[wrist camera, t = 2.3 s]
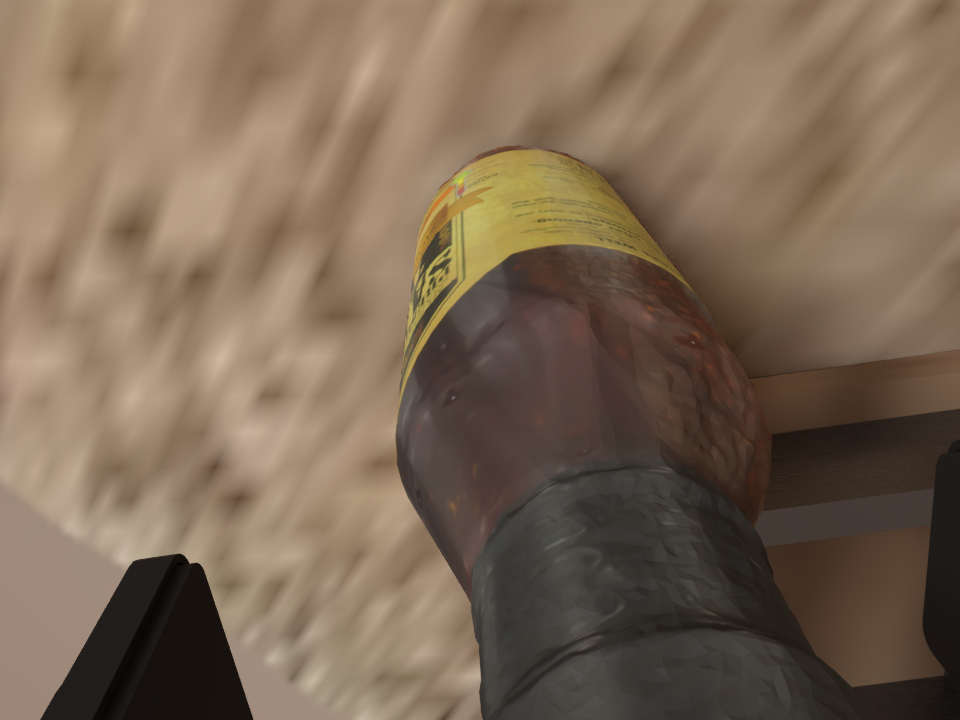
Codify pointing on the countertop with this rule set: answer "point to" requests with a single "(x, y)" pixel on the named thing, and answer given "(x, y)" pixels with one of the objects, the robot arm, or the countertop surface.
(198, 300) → the countertop surface
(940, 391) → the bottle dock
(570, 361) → the sauce bottle
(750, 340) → the countertop surface
